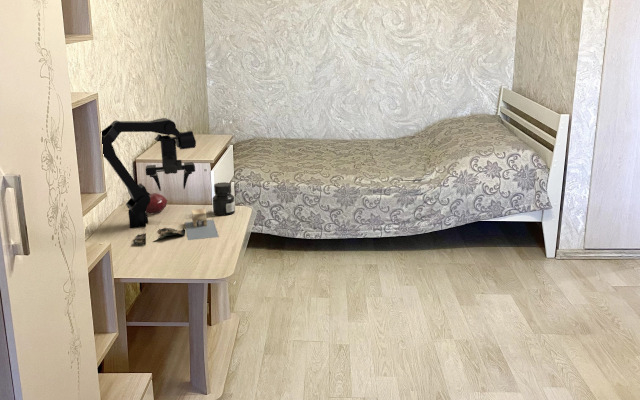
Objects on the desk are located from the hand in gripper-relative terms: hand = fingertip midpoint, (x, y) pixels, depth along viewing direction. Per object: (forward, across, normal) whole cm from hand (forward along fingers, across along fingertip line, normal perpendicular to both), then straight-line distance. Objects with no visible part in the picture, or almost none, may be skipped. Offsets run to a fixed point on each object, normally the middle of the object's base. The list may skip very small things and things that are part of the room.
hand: (172, 189), depth 259 cm
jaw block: (+10, +9, -14) cm, 20 cm away
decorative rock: (+13, -6, -23) cm, 27 cm away
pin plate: (+12, +9, -21) cm, 26 cm away
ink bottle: (+12, +20, +2) cm, 24 cm away
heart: (+12, -7, +12) cm, 19 cm away
